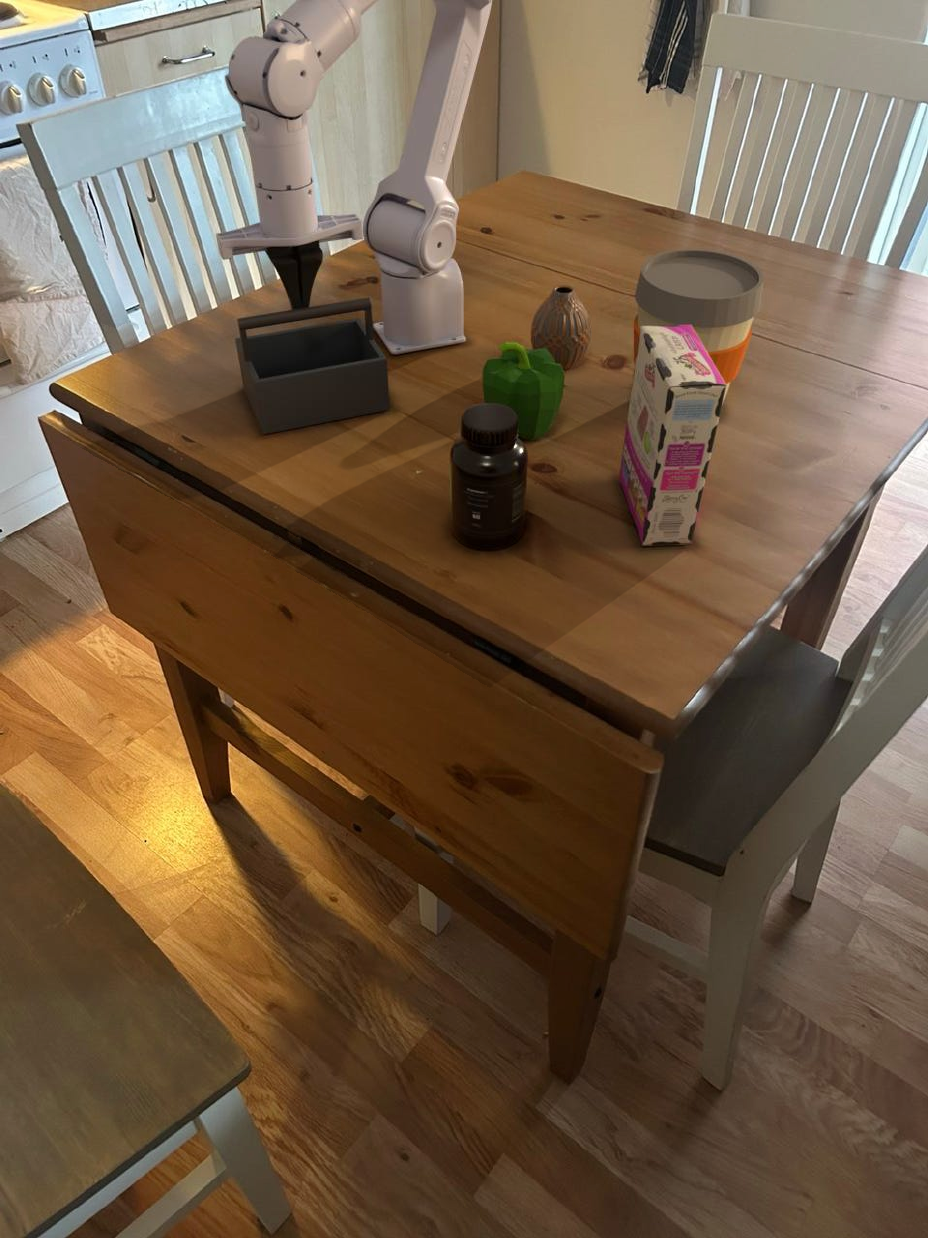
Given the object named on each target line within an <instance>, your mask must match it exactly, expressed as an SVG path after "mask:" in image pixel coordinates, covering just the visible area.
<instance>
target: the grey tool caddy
mask: <svg viewBox="0 0 928 1238" xmlns="http://www.w3.org/2000/svg"><path fill="white" fill-rule="evenodd" d="M372 306H373V305H372V300H371V298H370V297H361V298H356V299H350V300H344V301H337V302H330V303H324V304H319V305H318V304H317V305H312V306H309V307H306V308H300V309H294V310H292V309H288V310H282V311H275V312H271V313H263V314H258V315H257V314H256V315H251V316H245V317H239V318H236V319H237V320H236V323H237V326H238V333H239V337H237V338H234V341H235V347H236V353H237V359H238V364H239V369H240V376H241V381H242V386H243V390H244V393H245V395H246V398H247V399H248V403H249V405H250V407H251V409H252V411H253V414H254V417H255V419H256V422H257V424H258V425H259V428H260V431H261V433H262V435H267V434H268V435H269V434H272V433H278V432H279V433H280V432H282V431H287V430H289V431H290V430H293V429H298V428H303V427H304V428H305V427H309V426H315V425H319V424H324V423H329V422H335V421H340V420H343V419H344V420H346V419H350V418H354V417H355V418H356V417H359V416H366V415H370V414H376V413H380V412H385V411H390V410H391V408H390V407H391V405H390V393H389V392H390V390H389V375H388V373H389V372H388V359H387V357H386V355H385V354H384V353H383V351H382V350H381V348H380V346H379V345H378V344H377V342H376V341H375V339H374V328H373V324H374V323H373V309H372V308H373V307H372ZM361 311H363V312H364V323H363V321H362V320H361V319H360V317H355V318H350V319H344V320H337V321H332V322H327V323H321V324H314V325H308V326H302V327H297V328H291V329H283V330H279V331H272V332H267V333H260V334H255V335H249V336H248V335H247V331H248V330H253V329H259V328H265V327H271V326H277V325H282V324H284V325H285V324H289V323H295V322H302V321H308V320H313V319H319V318H325V317H331V316H337V315H344V314H349V313H350V314H351V313H356V312H361Z"/></svg>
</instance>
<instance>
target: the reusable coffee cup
mask: <svg viewBox="0 0 928 1238" xmlns="http://www.w3.org/2000/svg"><path fill="white" fill-rule="evenodd" d="M763 287H764V275H763V273H762V271H761V270H760V268H758V266H756V264H753V263H752V262H750V261H749V260H747V259H745V258H742V257H740V256H737V255H734V254H732V253H726V252H723V251H718V250H712V249H702V248H701V249H700V248H683V249H682V248H681V249H673V250H666V251H663V252H659V253H656V254H654V255H652V256H650V257H648V258H647V259H646V260H644V262H643V263H642V265H641V269H640V272H639V276H638V281H637V284H636V288H635V294H634V299H635V302H636V303H637V315H636V316H635V318H634V320H633V321H634V322H633V363H634V366H635V365H636V358H637V352H638V344H639V337H640V327H641V326H661V325H692V327H693V328H694V330H695V332H696V334H697V335H698V337H699V339H700V340H701V342H702V344H703V346H704V347H705V349H706V351H707V352H708V354H709V356H710V358H711V359H712V361H713V363H714V365H715V366H716V368H717V369H718V371H719V373H720V374H721V376H722V378H723V379H724V381H725V383H726V385H727V386H726V389H725V394H724V398H723V403H722V405H724V402H725V399H726V396H727V393H728V390H729V388H730V384H731V382H733V381H734V380H735V378H737V376H738V373H739V371H740V369H741V367H742V363H743V360H744V358H745V355H746V352H747V350H748V347H749V344H750V341H751V338H752V334H753V331H752V328H751V327H752V323H753V321H754V318H755V316H756V315H758V314H759V312H760V310H761V306H762V297H763Z"/></svg>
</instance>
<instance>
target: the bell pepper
mask: <svg viewBox="0 0 928 1238" xmlns="http://www.w3.org/2000/svg"><path fill="white" fill-rule="evenodd" d="M498 347H499V350H500V351H501V356H500V357H492V358H488V359H487V360H486V362H485V364H484V366H483V368H482V393H483V401H484V403H497V404H502V405H505V406H507V407H510V408H511V409H512V410H514V412H516V415H517V417H518V438H521V439H523V440H529V441H534V440H537V439H540V438H543V437H544V436H545V435H546V434H547V433H548V431H549V430H550V429H551V427H552V426H553V425H554V422H555V420H556V417H557V416H558V415H557V414H558V411H559V409H560V405H561V402H562V400H563V396H564V388H565V378H566V377H565V371H564V369H562V366H561V364H557V363H555V360H554V358H553V356H552V355H551V354H550V353H549V351H548V350H547V349H546V348H542V349H535V350H533V349H527V348H525V346H523V345H522V344H520V343H519V342H516V341H504V342H502V343H500V344H498Z"/></svg>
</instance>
